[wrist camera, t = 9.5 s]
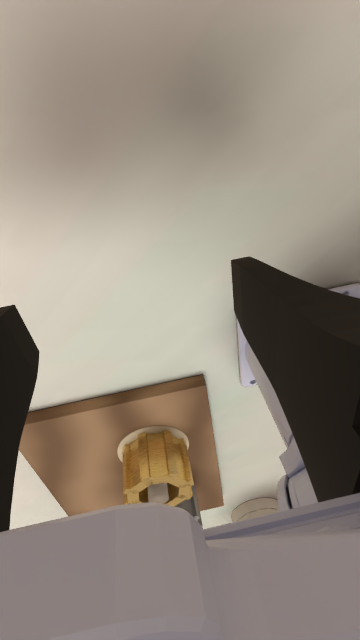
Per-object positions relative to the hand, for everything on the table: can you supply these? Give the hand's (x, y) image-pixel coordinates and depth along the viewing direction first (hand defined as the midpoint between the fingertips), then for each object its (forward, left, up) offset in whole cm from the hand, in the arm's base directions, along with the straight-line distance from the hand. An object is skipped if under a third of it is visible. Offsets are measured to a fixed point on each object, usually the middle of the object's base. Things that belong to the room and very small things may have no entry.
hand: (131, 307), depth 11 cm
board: (+5, +24, -10) cm, 26 cm away
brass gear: (+3, +21, -9) cm, 23 cm away
